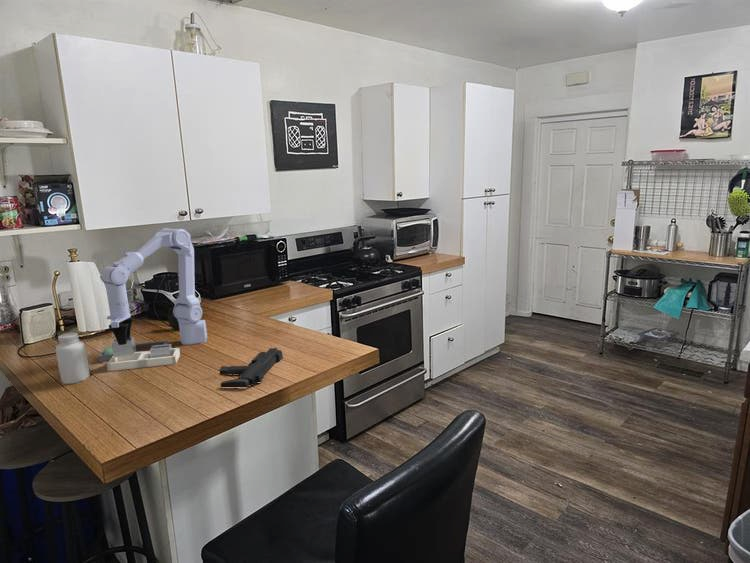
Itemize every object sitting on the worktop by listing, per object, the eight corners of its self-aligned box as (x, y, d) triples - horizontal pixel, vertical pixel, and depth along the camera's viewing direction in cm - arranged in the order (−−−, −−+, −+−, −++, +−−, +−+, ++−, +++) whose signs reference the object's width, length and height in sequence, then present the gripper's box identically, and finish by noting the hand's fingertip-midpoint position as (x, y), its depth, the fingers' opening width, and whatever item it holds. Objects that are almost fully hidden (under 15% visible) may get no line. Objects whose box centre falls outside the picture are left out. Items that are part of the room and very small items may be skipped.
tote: (168, 346, 183) (167, 340, 182) (162, 358, 171) (161, 351, 171) (128, 351, 180) (127, 344, 179) (119, 363, 168) (118, 356, 168)
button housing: (123, 356, 175) (122, 348, 174) (118, 362, 169) (117, 354, 169) (105, 357, 174) (103, 350, 173) (99, 364, 168) (98, 356, 167)
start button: (119, 354, 174) (117, 346, 173) (115, 358, 170) (114, 350, 169) (106, 355, 173) (105, 347, 172) (103, 359, 169) (102, 351, 168)
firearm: (235, 355, 176) (288, 353, 173) (192, 392, 147) (255, 390, 144) (233, 346, 176) (286, 344, 173) (191, 382, 147) (253, 380, 143)
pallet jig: (180, 357, 172) (179, 347, 171) (176, 366, 164) (175, 356, 163) (115, 363, 168) (114, 354, 167) (108, 374, 159) (106, 364, 158)
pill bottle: (60, 386, 151) (51, 340, 147) (62, 377, 158) (54, 333, 154) (89, 381, 154) (81, 336, 151) (90, 372, 161) (83, 329, 158)
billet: (117, 353, 165) (114, 338, 164) (136, 350, 166) (133, 336, 165) (114, 357, 161) (111, 342, 160) (133, 354, 162) (130, 339, 161)
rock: (202, 326, 206) (200, 303, 204) (199, 329, 203) (197, 306, 200) (172, 327, 206) (169, 305, 204) (168, 330, 202) (165, 307, 200)
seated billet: (154, 359, 168) (152, 345, 167) (173, 357, 169) (171, 343, 168) (152, 363, 164) (149, 349, 163) (171, 361, 165) (169, 347, 164)
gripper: (111, 298, 166) (117, 336, 169) (97, 309, 152) (104, 350, 155) (133, 296, 167) (139, 334, 170) (122, 307, 153) (128, 348, 156)
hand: (124, 342), depth 163 cm, fingers closed on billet, 4 cm apart
